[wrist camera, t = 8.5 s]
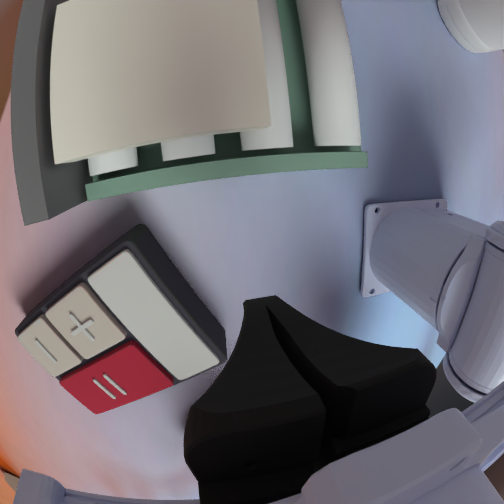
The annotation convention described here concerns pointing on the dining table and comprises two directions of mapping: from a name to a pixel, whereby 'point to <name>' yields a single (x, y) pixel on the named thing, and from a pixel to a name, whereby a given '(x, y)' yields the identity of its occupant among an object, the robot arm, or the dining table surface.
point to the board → (154, 73)
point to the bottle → (475, 23)
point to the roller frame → (202, 147)
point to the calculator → (123, 327)
